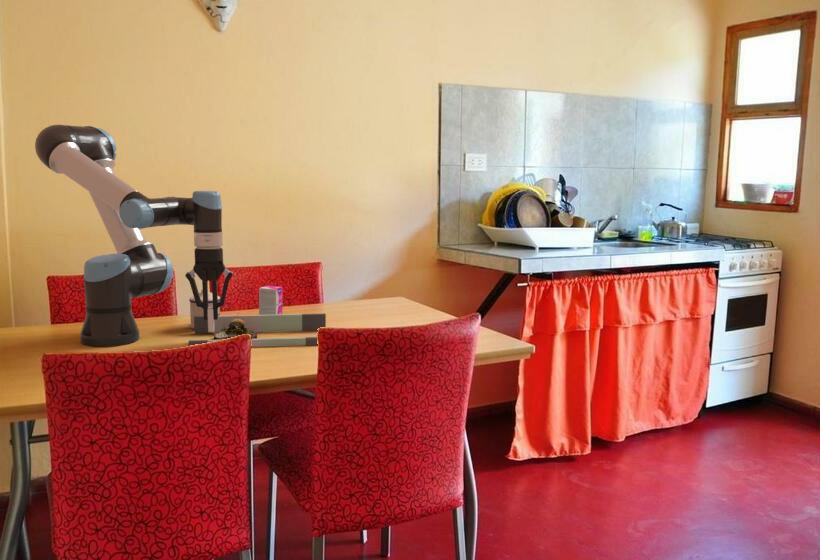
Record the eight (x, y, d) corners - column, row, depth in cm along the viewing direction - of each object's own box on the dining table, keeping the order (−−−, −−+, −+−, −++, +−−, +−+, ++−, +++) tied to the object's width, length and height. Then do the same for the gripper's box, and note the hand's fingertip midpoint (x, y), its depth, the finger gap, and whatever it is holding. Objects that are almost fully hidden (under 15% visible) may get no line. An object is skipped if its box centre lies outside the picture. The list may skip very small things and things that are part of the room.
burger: (205, 342, 200) (204, 316, 199) (231, 333, 211) (230, 308, 210) (241, 347, 196) (240, 320, 195) (265, 338, 207) (265, 312, 205)
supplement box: (276, 325, 221) (276, 289, 220) (258, 324, 223) (257, 288, 221) (283, 321, 227) (283, 286, 225) (265, 320, 228) (265, 285, 226)
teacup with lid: (225, 328, 216) (224, 290, 214) (195, 331, 211) (193, 292, 210) (212, 320, 226) (211, 284, 224) (183, 323, 221) (182, 286, 220)
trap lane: (188, 348, 192) (188, 330, 191) (194, 332, 210) (194, 316, 209) (331, 344, 200) (331, 327, 199) (325, 329, 218) (325, 313, 217)
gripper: (182, 249, 193) (185, 334, 197) (232, 248, 195) (234, 333, 199) (185, 246, 200) (188, 328, 204) (233, 245, 203) (235, 327, 206)
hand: (211, 331), depth 201 cm, fingers closed
